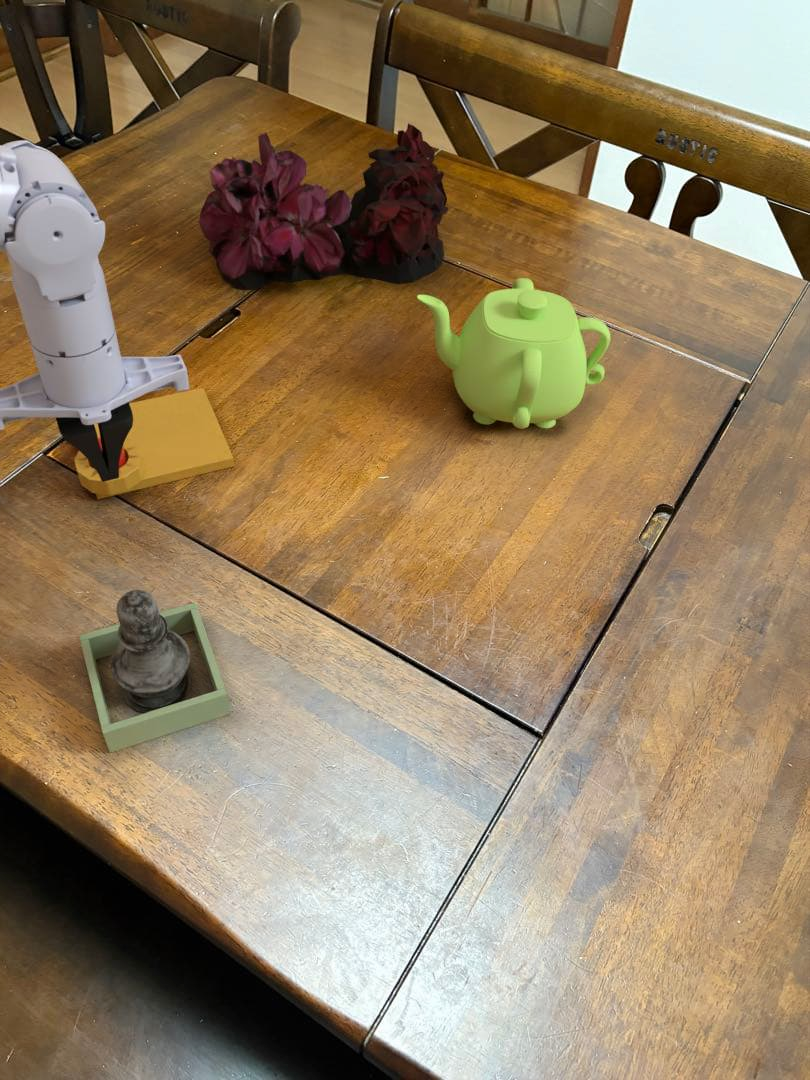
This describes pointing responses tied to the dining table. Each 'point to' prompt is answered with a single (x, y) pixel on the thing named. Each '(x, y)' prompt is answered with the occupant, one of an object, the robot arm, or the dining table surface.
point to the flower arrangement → (326, 218)
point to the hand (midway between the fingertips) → (108, 471)
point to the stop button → (122, 457)
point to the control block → (164, 445)
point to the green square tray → (166, 717)
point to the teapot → (519, 355)
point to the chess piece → (149, 655)
